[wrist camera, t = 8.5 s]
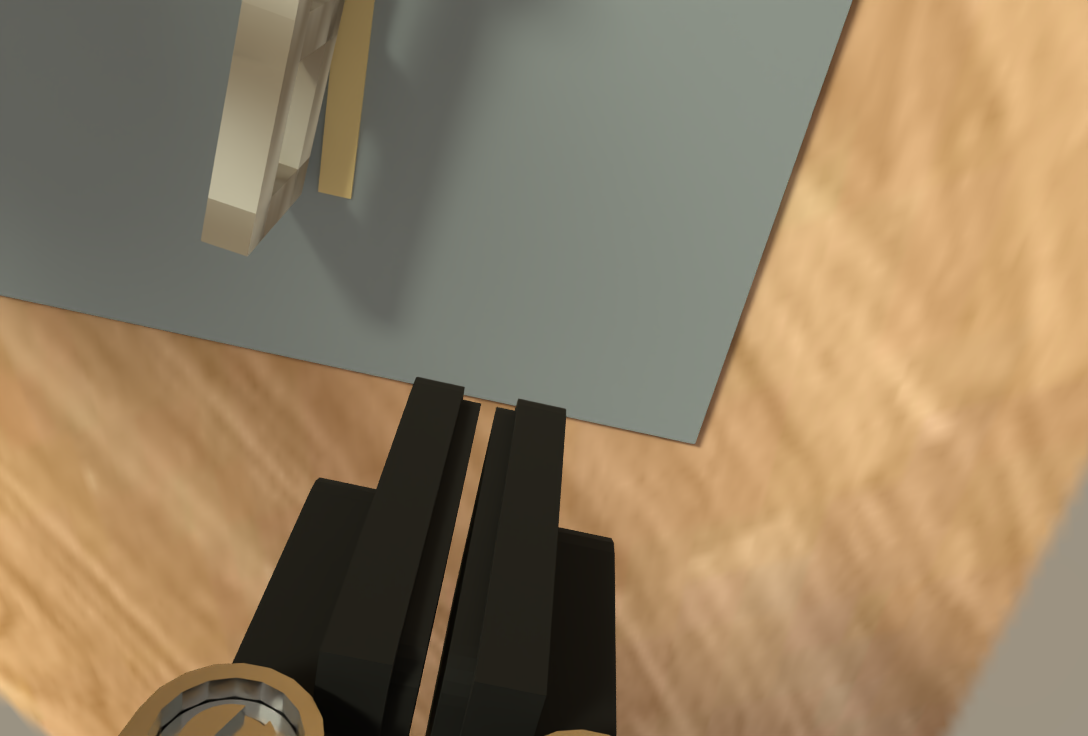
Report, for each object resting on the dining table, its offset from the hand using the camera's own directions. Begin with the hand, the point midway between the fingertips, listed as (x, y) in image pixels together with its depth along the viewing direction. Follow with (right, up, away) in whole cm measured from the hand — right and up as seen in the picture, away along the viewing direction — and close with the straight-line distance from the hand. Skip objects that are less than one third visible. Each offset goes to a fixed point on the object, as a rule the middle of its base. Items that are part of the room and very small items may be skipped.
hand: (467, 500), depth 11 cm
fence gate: (-5, +11, +15) cm, 19 cm away
